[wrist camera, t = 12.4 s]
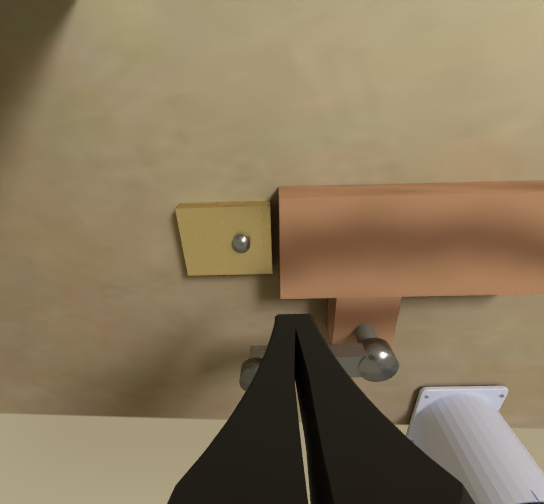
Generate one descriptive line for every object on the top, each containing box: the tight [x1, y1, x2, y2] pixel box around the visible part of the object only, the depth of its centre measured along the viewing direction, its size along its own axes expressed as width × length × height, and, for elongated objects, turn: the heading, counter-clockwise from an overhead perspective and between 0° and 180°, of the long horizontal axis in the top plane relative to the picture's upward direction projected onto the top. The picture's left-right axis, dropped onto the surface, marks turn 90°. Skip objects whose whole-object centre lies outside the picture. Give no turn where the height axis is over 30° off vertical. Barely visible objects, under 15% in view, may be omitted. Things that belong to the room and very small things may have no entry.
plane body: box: [278, 181, 544, 347], centre depth 19 cm, size 12×18×4 cm, turn 91°
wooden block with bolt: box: [175, 201, 272, 276], centre depth 20 cm, size 5×6×2 cm
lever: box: [240, 338, 399, 391], centre depth 18 cm, size 10×2×2 cm, turn 92°
